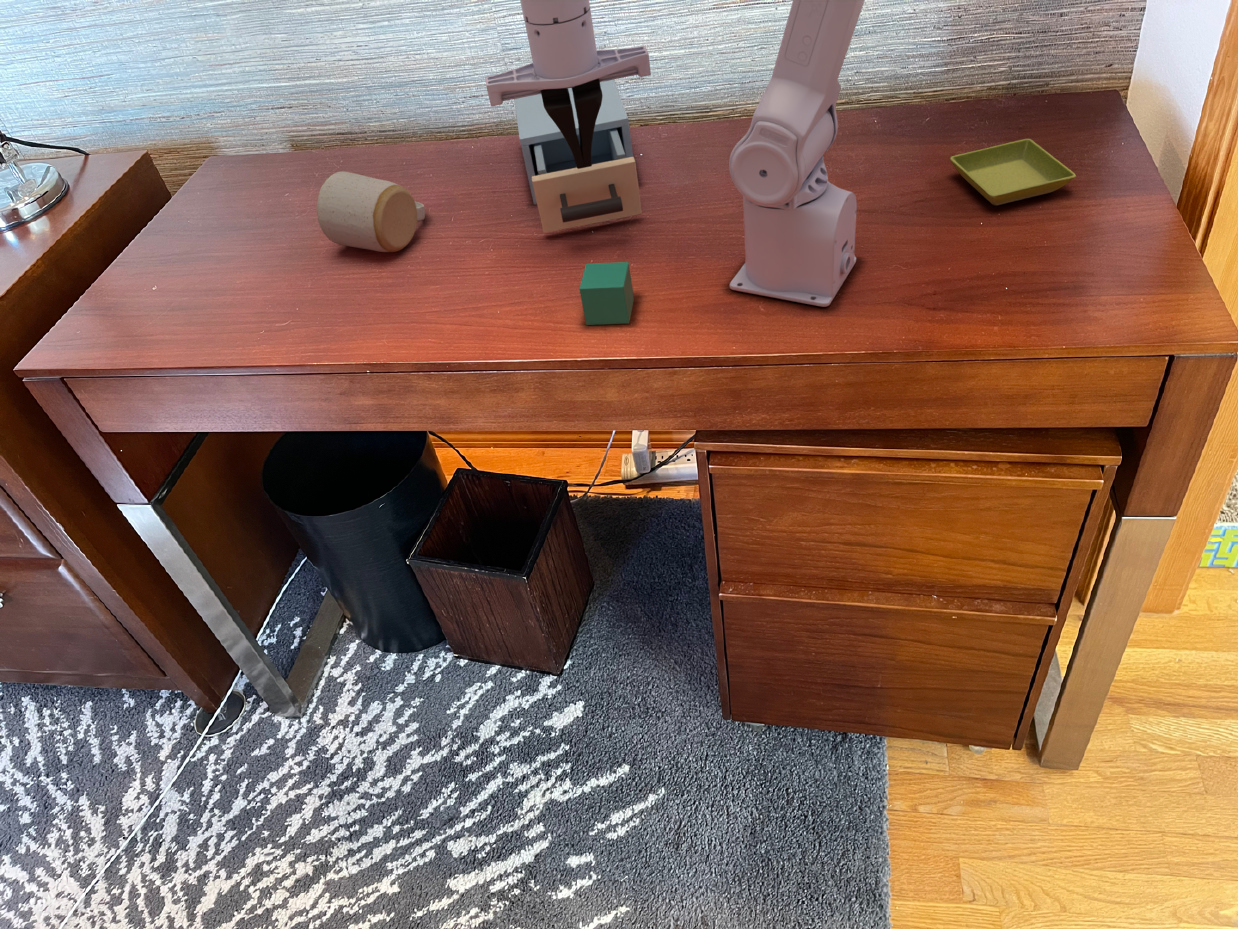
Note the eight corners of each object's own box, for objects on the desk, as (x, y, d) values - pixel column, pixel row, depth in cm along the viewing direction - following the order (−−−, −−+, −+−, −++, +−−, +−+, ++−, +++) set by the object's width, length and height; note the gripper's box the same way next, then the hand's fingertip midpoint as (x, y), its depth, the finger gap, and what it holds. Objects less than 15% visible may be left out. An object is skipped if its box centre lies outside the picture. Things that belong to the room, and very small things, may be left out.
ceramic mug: (390, 267, 94) (367, 199, 88) (330, 257, 97) (304, 191, 92) (446, 217, 100) (427, 151, 95) (388, 209, 103) (366, 145, 98)
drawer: (649, 235, 90) (642, 182, 86) (547, 255, 90) (535, 203, 86) (623, 156, 103) (616, 106, 98) (534, 174, 102) (523, 125, 98)
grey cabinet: (636, 184, 99) (628, 117, 94) (534, 204, 99) (519, 139, 94) (618, 129, 110) (609, 66, 104) (525, 147, 110) (512, 85, 104)
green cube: (634, 298, 84) (628, 261, 81) (629, 323, 81) (623, 286, 78) (592, 299, 85) (585, 263, 82) (586, 325, 82) (578, 288, 79)
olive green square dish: (1074, 195, 86) (1078, 175, 85) (988, 215, 86) (991, 195, 84) (1025, 156, 92) (1029, 137, 91) (945, 175, 92) (947, 156, 90)
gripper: (634, -19, 79) (651, 130, 88) (472, 13, 79) (507, 159, 88) (646, 7, 74) (663, 162, 83) (473, 41, 74) (510, 192, 83)
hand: (583, 163), depth 85 cm, fingers closed
